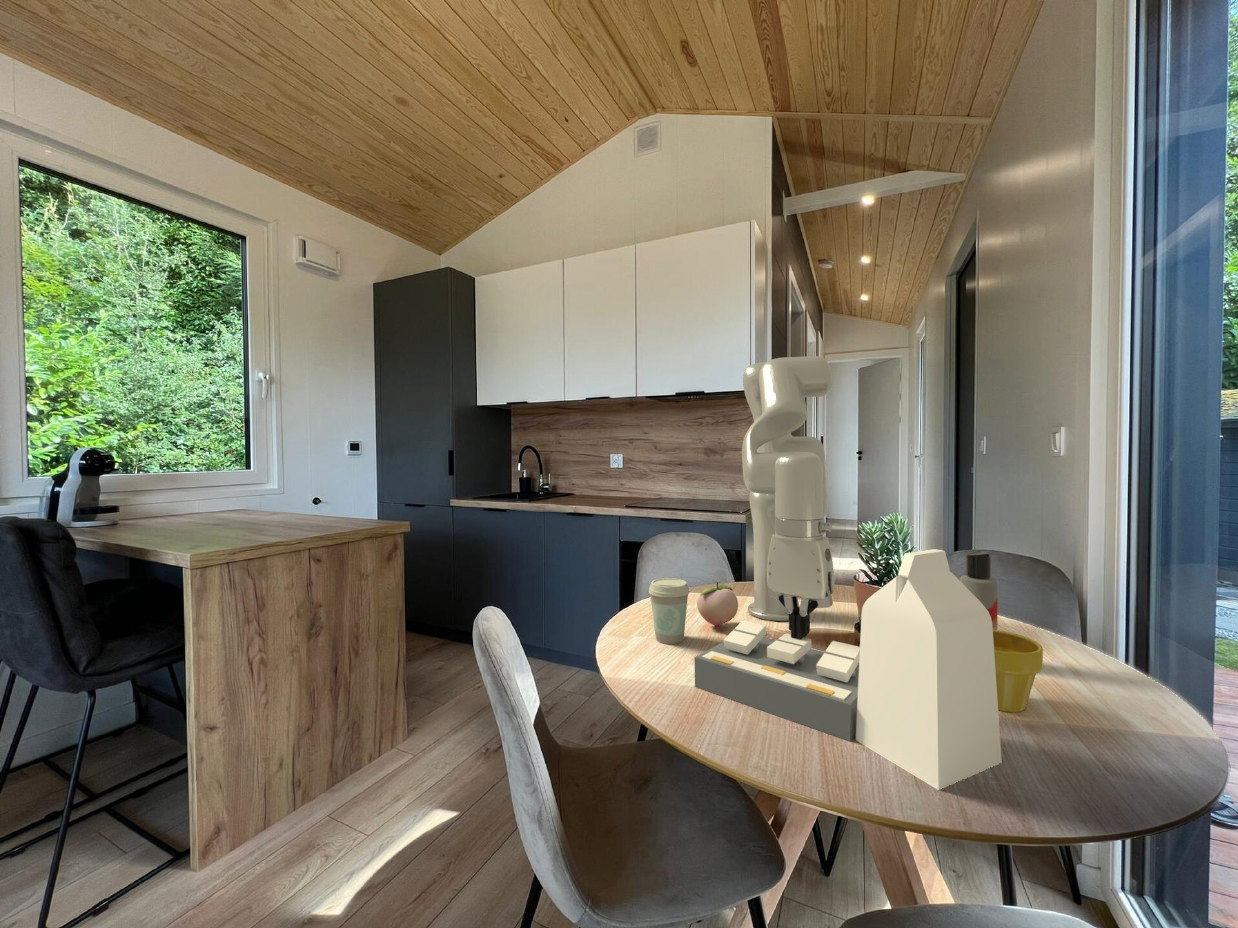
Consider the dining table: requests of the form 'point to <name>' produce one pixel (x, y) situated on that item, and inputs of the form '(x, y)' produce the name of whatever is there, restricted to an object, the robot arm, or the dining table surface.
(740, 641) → the rocker
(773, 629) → the dining table surface
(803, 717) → the switch unit
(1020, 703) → the plant pot
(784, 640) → the rocker
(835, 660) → the rocker
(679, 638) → the coffee cup
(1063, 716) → the dining table surface
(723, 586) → the decorative fruit
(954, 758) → the milk
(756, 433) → the robot arm
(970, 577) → the lotion bottle
